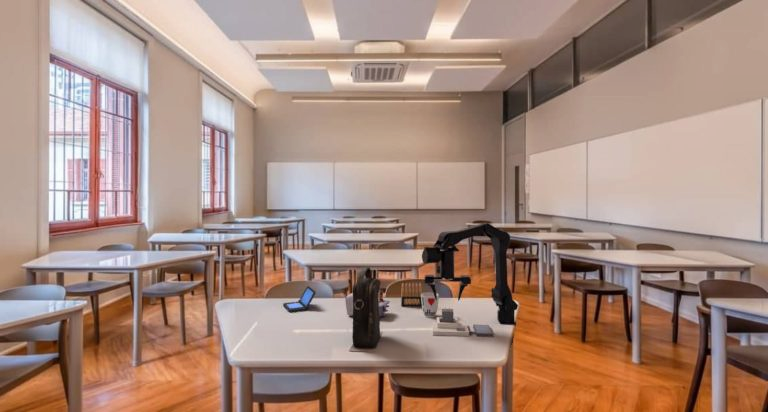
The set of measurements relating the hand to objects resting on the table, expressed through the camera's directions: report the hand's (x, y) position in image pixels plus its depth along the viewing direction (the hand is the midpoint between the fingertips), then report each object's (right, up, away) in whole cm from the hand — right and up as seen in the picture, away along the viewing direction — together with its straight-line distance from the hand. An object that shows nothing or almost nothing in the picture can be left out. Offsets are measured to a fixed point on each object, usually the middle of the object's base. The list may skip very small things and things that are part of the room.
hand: (447, 300), depth 169 cm
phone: (+14, -12, -4) cm, 18 cm away
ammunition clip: (-12, -12, +37) cm, 41 cm away
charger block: (0, -10, 0) cm, 10 cm away
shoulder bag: (-33, -13, -14) cm, 38 cm away
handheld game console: (-69, -13, +36) cm, 79 cm away
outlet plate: (+1, -12, -2) cm, 12 cm away
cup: (-5, -12, +19) cm, 23 cm away
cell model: (-34, -12, +21) cm, 42 cm away
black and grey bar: (+9, -12, -6) cm, 16 cm away
